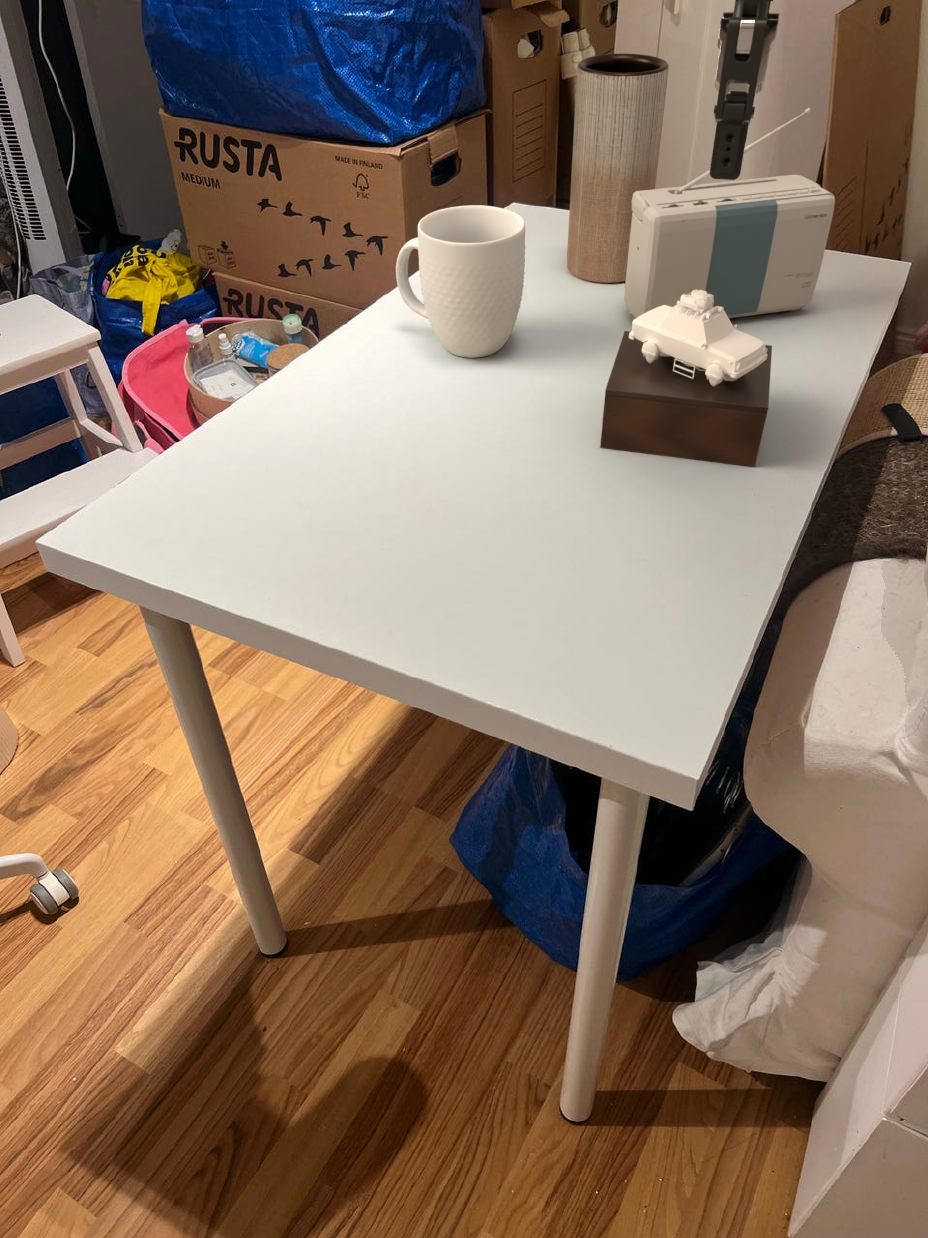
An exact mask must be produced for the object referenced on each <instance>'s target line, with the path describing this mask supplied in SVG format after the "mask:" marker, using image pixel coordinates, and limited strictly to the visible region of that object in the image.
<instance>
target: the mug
mask: <svg viewBox="0 0 928 1238" xmlns="http://www.w3.org/2000/svg"><path fill="white" fill-rule="evenodd" d="M413 250H417V255H418V271H419V280H420V281H419V282H420V290H421V295H422V299H423V302H422V301H421V300H420V299H419V298H418V296H417V295H416V294H415V293H414V291H413V289H412V287H411V284H410V280H409V272H408V271H409V270H408V268H409V260H410V256H411V253H412V251H413ZM525 262H526V221H525V219H524V218H523V217H522V216H521V215H520V214H518V213H517V212H514V211H512V210H509V209H506V208H503V207H498V206H492V205H483V204H482V205H479V204H478V205H477V204H476V205H475V204H474V205H473V204H470V205H468V204H467V205H459V206H450V207H447V208H446V207H445V208H442V209H437V210H434V211H432V212H430V213H428V214H426V215H424V216H423V217H422V218H420V220H419V221H418V224H417V237H414V238H412V239H409V240H408V241H407V242H405V244H403V246H402V247H401V249H400V250H399V252H398V255H397V259H396V264H395V278H396V285H397V289H398V291H399V294H400V296H401V299H402V300H403V303H404V304H405V305H406V306H407V307H408V308H409V309H411V311H413V312H415V313H416V314H417V315H419V316H421V317H423V318H425V319H427V320H428V322H429V324H430V327H431V329H432V332H433V334H434V336H435V337H436V338H437V340H438V342H439V343H440V345H441V347H443V348H444V350H445V351H447V352H448V353H450V354H452V355H454V356H457V357H460V358H468V359H469V358H470V359H474V358H475V359H476V358H483V357H488V356H491V355H493V354H496V353H497V352H498V351H500V350H501V348H503V347H504V345H505V344H506V342H507V341H508V339H509V337H510V336H511V334H512V332H513V330H514V327H515V325H516V322H517V319H518V316H519V312H520V308H521V303H522V299H523V291H524V290H523V289H524V287H525V286H524V282H525V281H524V279H525V268H526V267H525V266H526V263H525Z"/></svg>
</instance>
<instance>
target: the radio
mask: <svg viewBox="0 0 928 1238" xmlns="http://www.w3.org/2000/svg"><path fill="white" fill-rule="evenodd" d="M811 112H812V110H811V108H810V107H808V108H806V109H804V112H802V113H801V114H799V115H798V116H796V117H794V118H792V119H791V120H789V121H787V122H786V123H784V124H782V125H780V126H778V127H777V128H775V129H773V130H772V131H771V132H768V133H766V134H765V135H764V136H762V137H760V138H758V139H757V140H756V141H754V142H752V143H750V144H749V145H747V146H745V148H744V154H746V153H747V152H750V150H752V149H753V148H755V147H756V146H758V145H760V144H761V143H763V142H765V141H766V140H768V139H769V138H771V137H772V136H773V135H776V133H778V132H780V131H782V130H783V129H784V128H786V127H787V126H788V125H790V124H792V123H794V122H795V121H797V119H799V118H801V117H802V116H803V115H808V114H810V113H811ZM709 176H710V169H709V170H707V171H705V172H703V173H702V174H701V175H699V176H697V177H696V178H694V179H693V180H691V181H690V182H688V183H686V184H684V185H683V186H673V187H664V188H663V187H661V188H655V189H653V190H643V191H636V192H635V193H634V194H633V198H632V211H633V212H632V223H631V233H630V243H629V253H628V263H627V273H626V281H625V285H624V293H623V294H624V295H623V300H624V303H625V306H626V308H627V310H628V312H629V313H630V314H631V316H632V317H633V319H636V318H637V317H639V316H641V315H642V314H644V313H646V312H648V311H650V310H652V309H655V308H657V307H659V306H662V305H667V306H670V307H674V306H675V305H677V301H680V298H681V296H682V295H683V294H685V295H687V294H689V293H690V294H689V295H691V292H692V291H693V290H696V289H697V290H703V291H706V292H707V293H708V294H712V295H714V298H713V300H714V305H713V304H712V305H713V307H715V306H719V307H724V311H725V313H726V315H727V316H728V318H729V319H733V318H741V317H749V316H756V315H765V314H771V313H779V312H787V311H790V312H794V311H795V310H800V309H801V308H802V307H803V306H807V305H810V303H811V302H812V300H813V296H814V295H815V294H814V293H815V291H816V286H817V283H818V280H819V275H820V272H821V268H822V263H823V259H824V255H825V251H826V247H827V243H828V239H829V233H830V230H831V225H832V222H833V221H832V220H833V217H834V212H835V211H834V210H835V205H836V198H835V194H833V193H832V192H830V191H829V190H827V189H825V188H823V187H821V184H818V183H817V182H815V181H813V180H811V179H809V178H807V177H805V176H803V175H801V174H800V175H799V174H788V175H777V176H767V177H759V178H758V177H757V178H749V179H740V180H728V181H721V182H720V181H719V182H711V183H710V182H709V183H700V182H701V181H703V180H704V179H706V178H707V177H709ZM698 183H700V184H698Z"/></svg>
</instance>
